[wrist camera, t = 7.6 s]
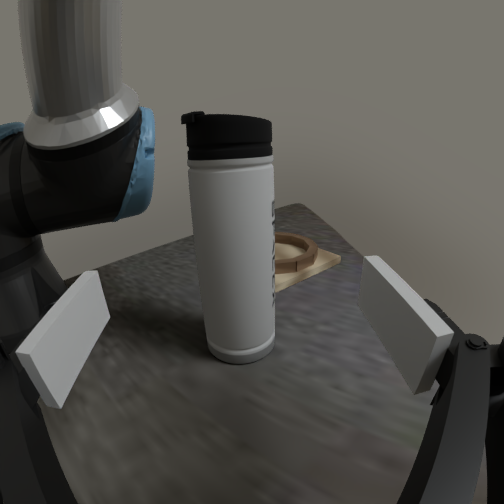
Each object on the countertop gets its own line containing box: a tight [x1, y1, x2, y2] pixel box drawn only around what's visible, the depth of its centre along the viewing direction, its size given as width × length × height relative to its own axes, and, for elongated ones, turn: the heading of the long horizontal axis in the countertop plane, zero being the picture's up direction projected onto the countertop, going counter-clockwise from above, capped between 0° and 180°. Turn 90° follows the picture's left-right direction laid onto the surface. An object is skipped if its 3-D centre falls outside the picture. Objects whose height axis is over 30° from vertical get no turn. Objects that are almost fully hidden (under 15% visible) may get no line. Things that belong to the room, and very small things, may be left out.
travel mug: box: [181, 111, 275, 364], centre depth 23 cm, size 6×7×20 cm
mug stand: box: [275, 232, 341, 293], centre depth 44 cm, size 14×14×2 cm
